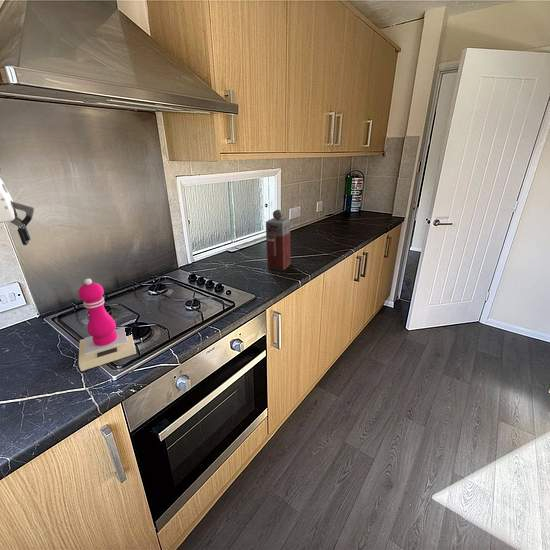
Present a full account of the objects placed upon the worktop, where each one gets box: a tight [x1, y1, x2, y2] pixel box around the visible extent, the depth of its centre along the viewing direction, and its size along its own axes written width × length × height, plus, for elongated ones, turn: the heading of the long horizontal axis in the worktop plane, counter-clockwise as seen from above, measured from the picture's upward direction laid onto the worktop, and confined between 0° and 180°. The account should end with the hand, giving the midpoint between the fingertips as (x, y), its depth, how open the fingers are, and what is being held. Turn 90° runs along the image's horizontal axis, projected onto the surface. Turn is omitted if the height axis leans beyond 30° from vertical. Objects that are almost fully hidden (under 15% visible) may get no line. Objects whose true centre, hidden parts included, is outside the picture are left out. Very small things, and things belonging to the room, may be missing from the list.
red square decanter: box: [265, 209, 292, 271], centre depth 140 cm, size 9×11×28 cm
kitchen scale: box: [78, 326, 137, 372], centre depth 87 cm, size 14×13×3 cm
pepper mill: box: [77, 277, 117, 346], centre depth 84 cm, size 7×7×20 cm
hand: (1, 247), depth 70 cm, fingers open, 9 cm apart
